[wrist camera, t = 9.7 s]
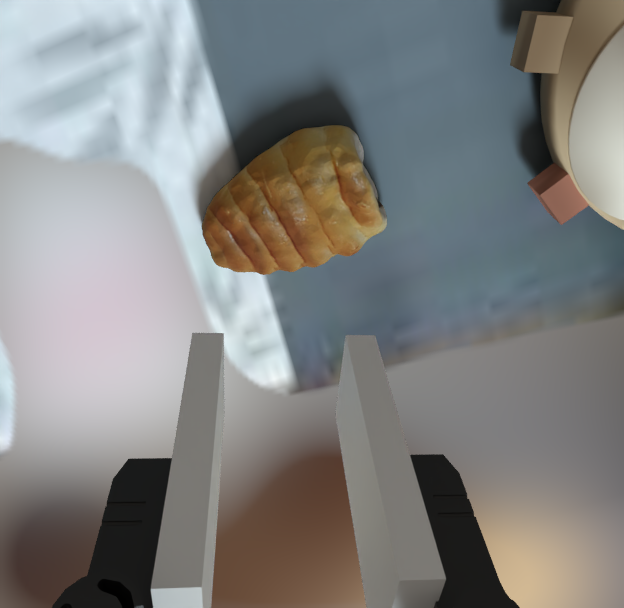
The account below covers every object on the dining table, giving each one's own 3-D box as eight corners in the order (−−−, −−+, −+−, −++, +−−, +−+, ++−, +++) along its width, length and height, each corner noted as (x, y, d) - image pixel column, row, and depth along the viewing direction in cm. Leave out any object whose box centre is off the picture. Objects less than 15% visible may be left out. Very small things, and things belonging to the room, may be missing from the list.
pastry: (240, 285, 33) (238, 322, 29) (176, 184, 29) (165, 214, 26) (392, 215, 31) (407, 247, 28) (342, 100, 28) (353, 121, 24)
